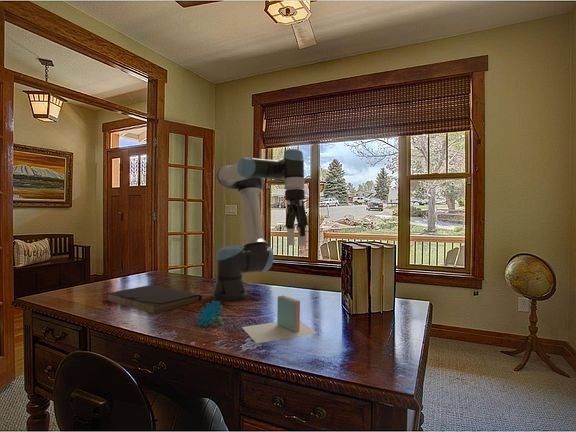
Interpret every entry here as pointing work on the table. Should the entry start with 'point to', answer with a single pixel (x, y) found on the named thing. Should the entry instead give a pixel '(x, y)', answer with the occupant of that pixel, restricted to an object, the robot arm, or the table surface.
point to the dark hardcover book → (153, 298)
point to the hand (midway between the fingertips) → (296, 245)
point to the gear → (210, 314)
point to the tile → (288, 313)
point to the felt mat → (275, 332)
